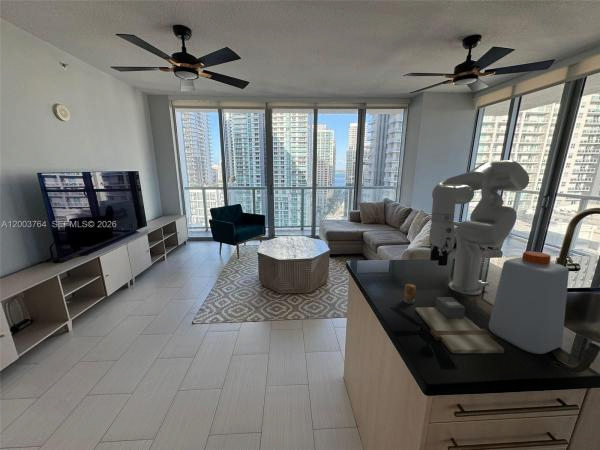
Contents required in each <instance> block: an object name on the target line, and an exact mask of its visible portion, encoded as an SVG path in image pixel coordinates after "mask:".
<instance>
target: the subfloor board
mask: <svg viewBox="0 0 600 450" xmlns="http://www.w3.org/2000/svg"><path fill="white" fill-rule="evenodd" d="M415 311H416V313H418V315H419V317H421V319H423V320H424V322H425V323H426V324H427V325H428V326H429V328H430V330H429V333H430V334H431V336H433V338H434V339H435V340H436V341H441V342H442V343H443V344H444V345H445V346H446V347H447V349H448V350H449V351H450V352H451V353H452V354H504V353H505V348H504V347H503V346H501V345H500V344H499V343H498V342H497V341H495V340H494V337H495V336H494V334H492V332H489V331H488V330H487V329H486V328H480V327H479V326H478V325H477V324H475V323H474V322H473V321H472V320H471V319H469V318H468V317H467V316H465V315H464V318H447V317H446V316H445V315H443V314H442V313H441V312H440V311H439V310H438V309H437V308H436V307H431V306H428V307H427V306H426V307H424V306H422V307H418V306H417V307H415Z"/></svg>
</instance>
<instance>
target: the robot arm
mask: <svg viewBox="0 0 600 450" xmlns="http://www.w3.org/2000/svg"><path fill="white" fill-rule="evenodd" d="M529 183H530V176H529V173H528V172H527V170H526V169H525V168H524V167H523V166H522V165H521V163H519V162H518V161H515V160H513V159H512V160H511V159H510V160H509V159H508V160H507V159H504V160H490V161H485V162H482V163H480V164H479V165H477V166H476V167H474V168H473V169H472V170H470V171H468V172H465V173H461V174H459V175H455V176H451V177H449V178H446V179H444V180H442V181H441V182H439V183H437V184H436V186H434V188H433V189H432V193H431V195H432V196H431V197H432V208H431V218H430V219H431V220H430V221H431V223H430V229H429V237H428V238H429V239H428V241H429V246H430V257H429V258H430V259H429V260H430V261H431V262H432V261H438V262H437V265H438V266H444V267H445V266H446V267H447V265H448V260H449V259H448V258H449V256H450V254H451V253H452V252H453V250H454V249H453V248H454V247H455V240H456V250H455V251H456V252H455V259H454V260H455V261H454V269H453V281H450V282H449V283H448V287H449V289H451V290H452V291H454V292H456V293H460V294H463V295H469V296H476V295H480V294H482V293H483V292H482V288H483V287H489V286H490V283H489V282H488V281H482V280H480V273H481V272H480V271H481V267H482V266H481V265H482V257H483V253H482V250H481V248H480V246H484V247H490V248H499V247H500V246H502V245H503V244H504V242H505V240H506V239H507V237H508V236H509V234H510V233H511V231H512V229H513V228H514V226H515V225H516V222H517V216H518V214H517V211H516V210H515V209H514V208H513V207H511V206H506V205H504V199H503V197H502V196H501V194H499V193H498V191H504V192H505V191H508V192H509V191H511V192H512V191H513V192H516V191H517V192H519V191H523V190H525V189H526V188H527V187H528V186H529ZM479 190H480V191H481V198H480V200H479V202H478V203H477V204H476V206H475V207H474V209H473V210H472V212H471V213H470V215H469V219H470V220H465V221H461V222H459V223H458V224H457V225H456V228H455V224H454V220H455V211H456V205H466V204H468V203H470V202H472V200H473V198H474V196H475V191H479ZM455 238H456V239H455Z"/></svg>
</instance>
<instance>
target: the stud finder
mask: <svg viewBox="0 0 600 450" xmlns="http://www.w3.org/2000/svg"><path fill="white" fill-rule="evenodd" d="M434 306H435V307H436V308H437V309H438V310H439V311H440V312H441V313H442V314H443V315H445V316H446V317H447V318H464V315H465V314H466V313H465V312H466V306H464V305H463V304H461V302H459V301H458V300H456V298H454V297H452V296H436V297H435V305H434Z"/></svg>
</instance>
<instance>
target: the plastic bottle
mask: <svg viewBox="0 0 600 450" xmlns="http://www.w3.org/2000/svg"><path fill="white" fill-rule="evenodd" d="M551 257H552V256H551V255H549V254H547V253H545V252H539V251H531V250H529V251H527V250H526V251H524V252H523V253H522V256H521V257H520V256H519V257H515V258H511V259H506V260H504V262H503V265H502V269H501V272H500V276H499V280H498V285H497V289H496V294H495V297H494V302H493V306H492V309H491V315H490V319H489V322H488V329H489V331H490V333H491V334H492V333H493V335H495V336H496V337H498V338H501V339H503V340H504V341H506V342H508V343H509V344H512V345H514V346H515V347H518V348H519V349H521V350H523V351H525V352H527V353H531V354H534V355H543V354H547V353H549V352H552V351H554V350H556V349H558V348H560V347H562V346H563V340H564V330H565V329H564V328H565V327H564V326H565V319H566V318H565V317H566V305H567V296H568V295H567V292H568V284H569V276H570V275H569V273H570V270H569V269H568V268H567V266H564V265H562V264H560V263H555V262H551Z"/></svg>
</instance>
